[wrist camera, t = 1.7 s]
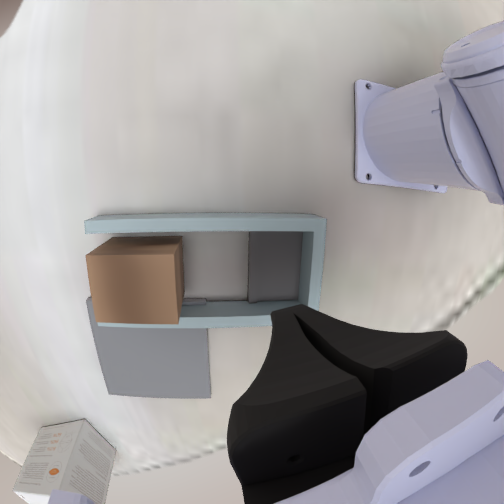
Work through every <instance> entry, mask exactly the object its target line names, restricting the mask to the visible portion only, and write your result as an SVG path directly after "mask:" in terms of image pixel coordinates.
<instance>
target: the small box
mask: <svg viewBox="0 0 504 504" xmlns="http://www.w3.org/2000/svg"><path fill="white" fill-rule="evenodd" d="M115 454H116V450H115V449H114V448H113V447H112V446H111V445H110V444H109V443H108V442H107V441H106V440H105V439H104V438H103V437H102V436H101V435H100V434H99V433H98V432H97V431H96V430H95V429H94V428H93V427H92V426H91V425H90V424H89V423H88V422H87V420H85V419H83V420H78V421H74V422H69V423H64V424H58V425H53V426H47V427H42V428H41V429H40V431H39V433H38V435H37V437H36V439H35V441H34V443H33V445H32V447H31V449H30V451H29V454H28V456H27V458H26V460H25V462H24V465H23V467H22V469H21V471H20V474H19V476H18V478H17V481H16V483H15V486H14V488H13V491H14V492H15V493H16V494H17V495H18V496H20V497H21V498H22V499H23V500H25V501H26V502H27V503H28V504H48V501H49V498H50V495H51V492H52V489H57V490H62V491H68V492H74V493H79V494H82V495H84V496H87V497H88V498H90V499H91V500H92V501H94V502H95V504H105V501H106V496H107V491H108V486H109V481H110V476H111V472H112V467H113V462H114V458H115Z"/></svg>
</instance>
